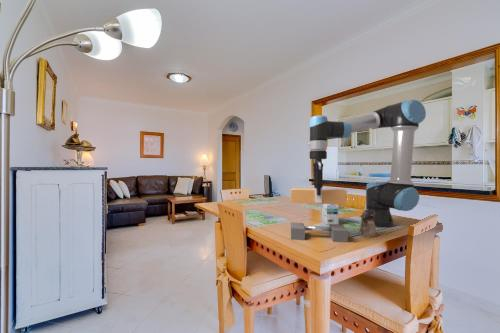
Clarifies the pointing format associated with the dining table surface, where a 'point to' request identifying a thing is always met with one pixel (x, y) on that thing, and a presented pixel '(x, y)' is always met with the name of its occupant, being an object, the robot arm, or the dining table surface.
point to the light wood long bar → (327, 196)
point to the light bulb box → (330, 213)
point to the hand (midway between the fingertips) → (317, 201)
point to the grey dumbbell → (335, 230)
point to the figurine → (367, 224)
